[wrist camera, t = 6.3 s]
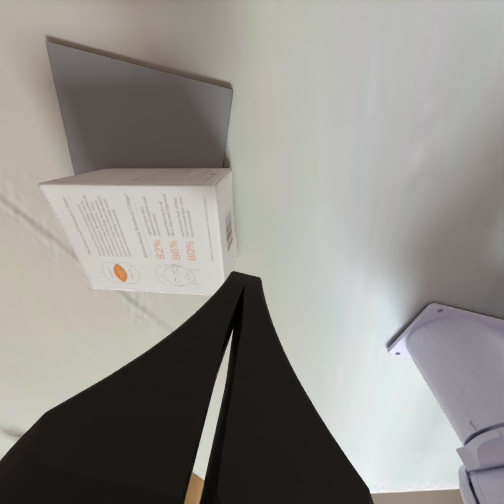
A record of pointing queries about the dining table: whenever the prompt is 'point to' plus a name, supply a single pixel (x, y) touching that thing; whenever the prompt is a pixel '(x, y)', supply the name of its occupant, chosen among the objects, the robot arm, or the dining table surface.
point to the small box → (149, 227)
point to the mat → (137, 114)
